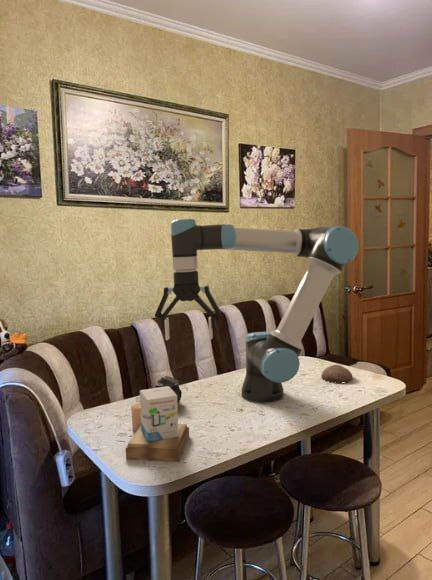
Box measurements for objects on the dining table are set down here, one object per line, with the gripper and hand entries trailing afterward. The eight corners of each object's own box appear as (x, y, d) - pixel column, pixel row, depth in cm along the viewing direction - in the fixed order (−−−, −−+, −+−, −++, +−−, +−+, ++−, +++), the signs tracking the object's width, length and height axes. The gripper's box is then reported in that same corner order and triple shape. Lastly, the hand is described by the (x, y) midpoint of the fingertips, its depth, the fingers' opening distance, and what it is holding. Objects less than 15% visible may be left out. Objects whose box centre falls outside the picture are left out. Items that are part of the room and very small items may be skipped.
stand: (189, 436, 126) (188, 423, 125) (178, 461, 112) (178, 446, 111) (142, 434, 127) (141, 421, 127) (126, 458, 114) (125, 444, 113)
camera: (173, 414, 142) (172, 384, 141) (144, 412, 144) (143, 382, 143) (186, 399, 155) (185, 372, 154) (160, 397, 157) (159, 370, 156)
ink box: (147, 442, 114) (146, 399, 112) (140, 429, 122) (139, 389, 120) (179, 436, 117) (177, 394, 116) (170, 424, 125) (169, 385, 123)
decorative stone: (326, 373, 182) (326, 360, 182) (355, 377, 176) (355, 364, 176) (317, 381, 172) (317, 367, 172) (347, 386, 166) (348, 371, 166)
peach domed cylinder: (152, 423, 135) (150, 401, 134) (153, 431, 129) (151, 408, 128) (132, 425, 134) (131, 403, 133) (132, 434, 128) (131, 410, 127)
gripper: (227, 268, 135) (230, 335, 138) (148, 271, 138) (152, 336, 140) (225, 270, 128) (228, 340, 131) (142, 273, 130) (146, 342, 133)
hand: (189, 338), depth 136 cm, fingers open, 13 cm apart
